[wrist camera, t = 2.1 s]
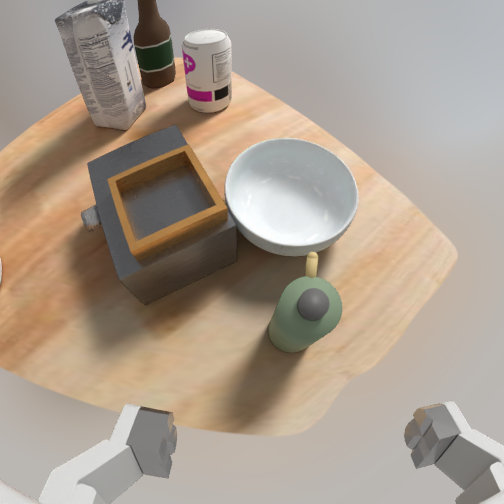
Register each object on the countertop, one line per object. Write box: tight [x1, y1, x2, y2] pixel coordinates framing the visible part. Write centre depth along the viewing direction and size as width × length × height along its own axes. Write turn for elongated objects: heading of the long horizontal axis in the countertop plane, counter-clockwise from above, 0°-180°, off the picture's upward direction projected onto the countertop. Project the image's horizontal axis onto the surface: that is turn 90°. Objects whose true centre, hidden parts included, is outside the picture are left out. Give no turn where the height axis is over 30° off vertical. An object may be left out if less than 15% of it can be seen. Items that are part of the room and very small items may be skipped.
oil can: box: [268, 252, 342, 353], centre depth 30 cm, size 8×6×12 cm
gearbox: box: [81, 125, 237, 305], centre depth 35 cm, size 16×18×11 cm
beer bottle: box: [134, 0, 176, 88], centre depth 46 cm, size 8×8×24 cm
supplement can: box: [182, 29, 232, 113], centre depth 46 cm, size 8×8×15 cm
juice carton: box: [55, 0, 146, 130], centre depth 39 cm, size 9×10×27 cm
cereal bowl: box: [225, 138, 358, 256], centre depth 39 cm, size 17×17×7 cm
